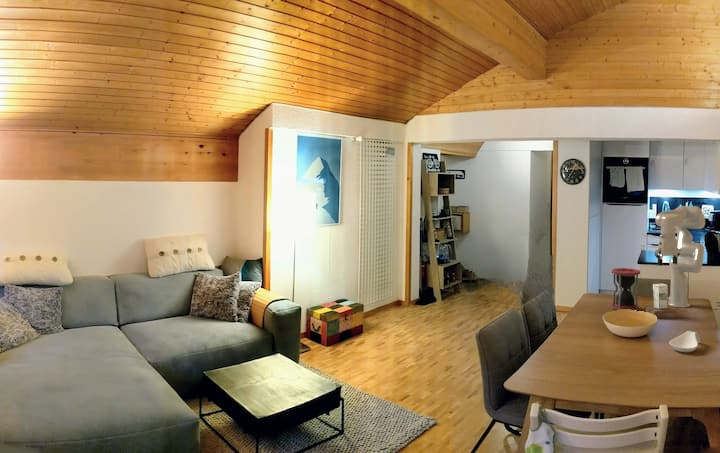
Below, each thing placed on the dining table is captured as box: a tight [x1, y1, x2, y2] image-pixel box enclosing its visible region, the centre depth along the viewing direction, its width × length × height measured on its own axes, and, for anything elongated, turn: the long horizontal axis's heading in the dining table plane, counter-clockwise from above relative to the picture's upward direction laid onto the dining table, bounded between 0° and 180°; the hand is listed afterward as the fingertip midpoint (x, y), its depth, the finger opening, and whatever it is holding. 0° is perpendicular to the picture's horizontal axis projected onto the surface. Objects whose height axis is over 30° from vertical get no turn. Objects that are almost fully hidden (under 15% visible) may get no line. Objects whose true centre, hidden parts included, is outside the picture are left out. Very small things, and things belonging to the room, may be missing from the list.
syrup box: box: [652, 283, 669, 309], centre depth 316 cm, size 6×6×14 cm
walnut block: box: [644, 305, 677, 320], centre depth 317 cm, size 12×12×5 cm
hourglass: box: [610, 267, 641, 311], centre depth 334 cm, size 16×16×25 cm
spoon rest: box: [669, 330, 701, 353], centre depth 259 cm, size 24×12×7 cm, turn 132°
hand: (667, 264), depth 317 cm, fingers open, 9 cm apart
